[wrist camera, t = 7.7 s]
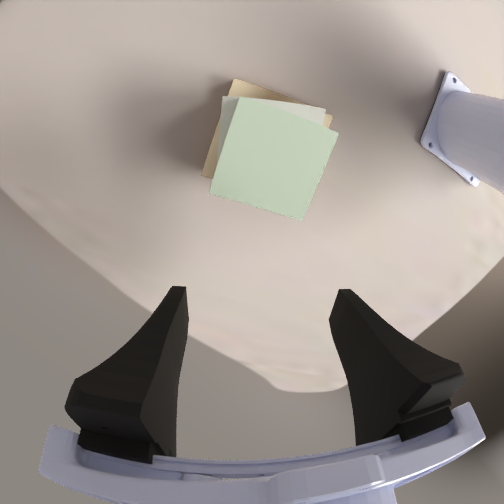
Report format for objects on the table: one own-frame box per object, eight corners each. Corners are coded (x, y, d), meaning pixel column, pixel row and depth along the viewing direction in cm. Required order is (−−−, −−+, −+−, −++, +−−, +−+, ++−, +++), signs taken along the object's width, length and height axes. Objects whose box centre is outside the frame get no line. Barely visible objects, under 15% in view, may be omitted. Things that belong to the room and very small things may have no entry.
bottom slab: (323, 114, 18) (333, 116, 17) (289, 194, 22) (295, 205, 20) (234, 80, 17) (234, 78, 15) (204, 167, 20) (200, 175, 18)
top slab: (315, 107, 16) (325, 108, 14) (302, 189, 19) (310, 200, 17) (223, 96, 16) (222, 95, 14) (216, 183, 19) (215, 193, 17)
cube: (313, 123, 15) (339, 133, 11) (286, 190, 17) (301, 221, 13) (239, 98, 14) (240, 96, 10) (215, 169, 16) (208, 193, 12)
